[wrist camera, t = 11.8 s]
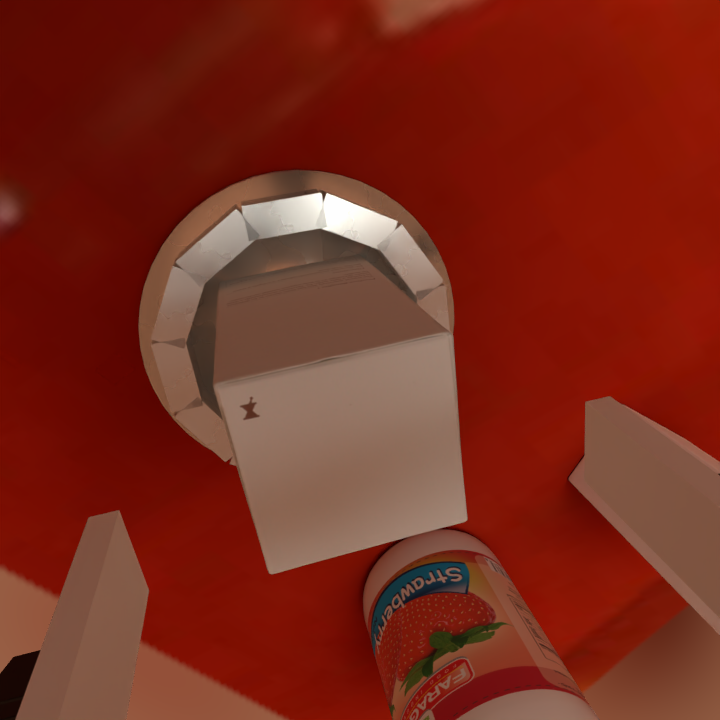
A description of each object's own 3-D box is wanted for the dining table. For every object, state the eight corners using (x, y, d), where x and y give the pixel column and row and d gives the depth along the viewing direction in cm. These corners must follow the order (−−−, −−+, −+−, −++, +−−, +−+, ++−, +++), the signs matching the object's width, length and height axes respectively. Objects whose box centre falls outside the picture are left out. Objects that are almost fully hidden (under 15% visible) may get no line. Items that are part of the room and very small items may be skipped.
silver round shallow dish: (97, 200, 26) (83, 208, 24) (434, 144, 29) (455, 145, 26) (187, 493, 33) (183, 524, 30) (459, 429, 35) (478, 452, 32)
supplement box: (248, 414, 31) (260, 583, 19) (215, 278, 28) (205, 380, 16) (384, 384, 32) (472, 528, 20) (365, 250, 29) (455, 328, 17)
